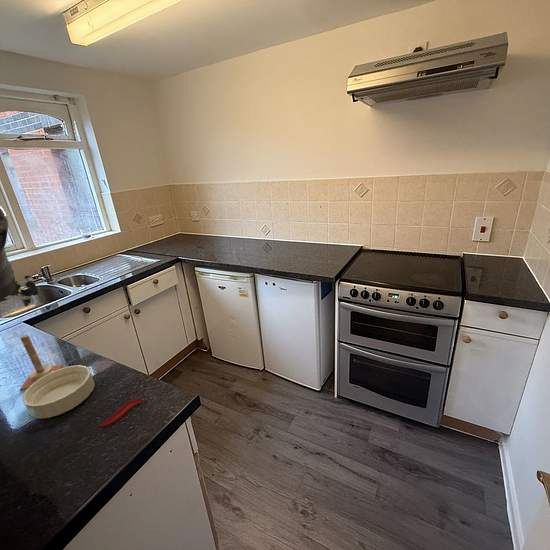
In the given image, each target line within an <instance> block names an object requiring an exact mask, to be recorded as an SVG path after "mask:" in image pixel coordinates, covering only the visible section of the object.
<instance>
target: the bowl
mask: <svg viewBox="0 0 550 550" xmlns="http://www.w3.org/2000/svg"><path fill="white" fill-rule="evenodd" d="M95 385H96V383H95V379H94V377H93V375H92V372H91V369H90V368H89V367H87V366H86V365H81V364H78V365H77V364H75V365H69V366H65V367H62V368H61V369H59V370H56V371H53V372H51V373H49V374H47V375H45V376H43V377H42V378H40V379H39V380H37V381H36V382H34V383H33V384H32V385H31V386H30V387H29V388H28V389H25V390H24V393H23V394H22V399H21V401H22V403H23V405H24V407H25V409H26V411H27V413H28V414H29V415H30V417H31V418H34V419H39V420H40V419H50V418H53V417H56V416H59V415H62V414H64V413H67V412H68V411H70V410H73V409H74V408H75V407H77V406H79V405H80V404H82V403H83V402H84V401H85V400H86V399H87V398H89V396H90V395H91V393H92V392H93V391H94V388H95Z"/></svg>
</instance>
